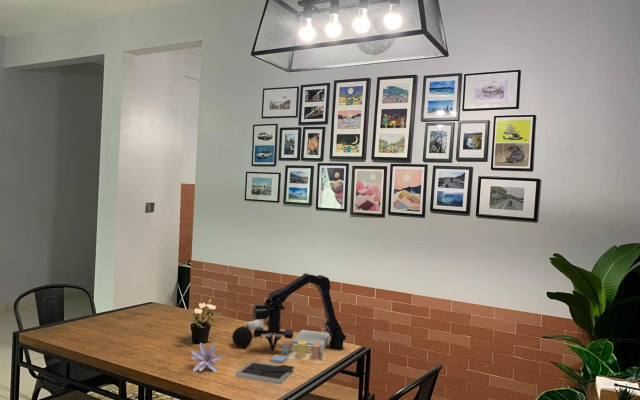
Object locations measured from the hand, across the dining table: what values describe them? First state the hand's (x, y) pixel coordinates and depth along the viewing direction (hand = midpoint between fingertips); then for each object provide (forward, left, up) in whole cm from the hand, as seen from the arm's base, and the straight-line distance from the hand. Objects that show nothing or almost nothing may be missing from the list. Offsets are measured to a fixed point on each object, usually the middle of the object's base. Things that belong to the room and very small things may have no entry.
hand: (272, 350), depth 234 cm
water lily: (+27, +22, -3) cm, 35 cm away
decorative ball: (+17, -11, -3) cm, 21 cm away
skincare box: (-10, -20, 0) cm, 22 cm away
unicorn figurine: (+15, -28, -3) cm, 32 cm away
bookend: (-6, 0, -2) cm, 7 cm away
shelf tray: (-14, 0, -3) cm, 14 cm away
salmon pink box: (-21, 0, -2) cm, 21 cm away
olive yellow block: (-14, 0, -2) cm, 14 cm away
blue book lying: (-4, +9, -3) cm, 10 cm away
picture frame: (0, +22, -4) cm, 23 cm away
